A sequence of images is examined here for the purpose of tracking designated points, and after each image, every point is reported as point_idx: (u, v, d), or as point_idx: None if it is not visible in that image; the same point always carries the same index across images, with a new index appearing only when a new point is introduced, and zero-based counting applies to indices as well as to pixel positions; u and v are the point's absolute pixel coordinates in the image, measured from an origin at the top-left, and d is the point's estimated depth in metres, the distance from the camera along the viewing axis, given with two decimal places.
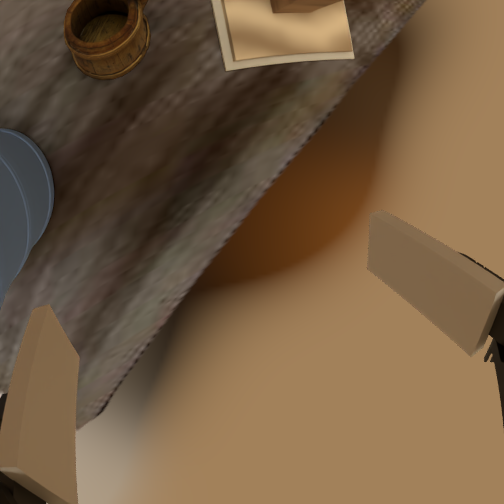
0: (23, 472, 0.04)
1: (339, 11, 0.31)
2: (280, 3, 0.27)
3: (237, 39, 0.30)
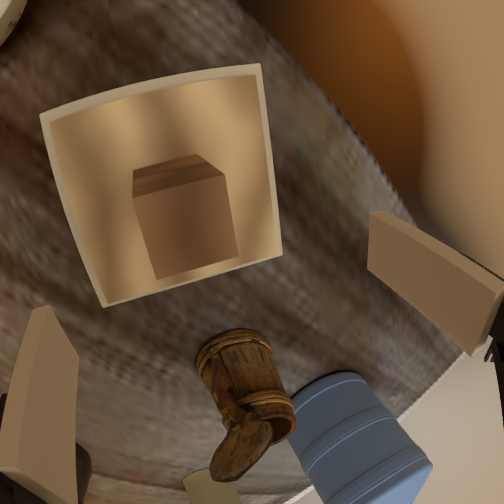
0: (23, 472, 0.04)
1: (182, 97, 0.21)
2: None
3: (250, 255, 0.29)
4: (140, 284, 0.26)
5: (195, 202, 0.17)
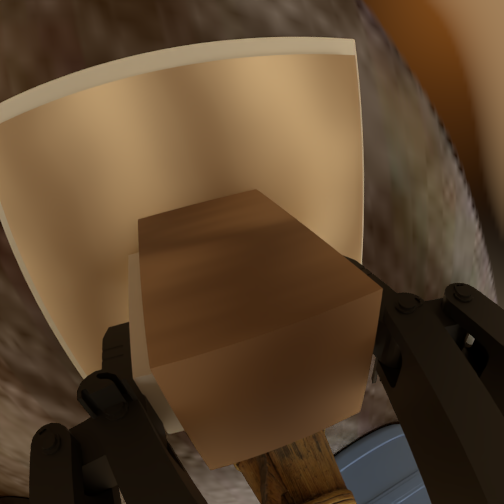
0: None
1: (233, 82, 0.11)
2: None
3: None
4: None
5: (310, 355, 0.07)
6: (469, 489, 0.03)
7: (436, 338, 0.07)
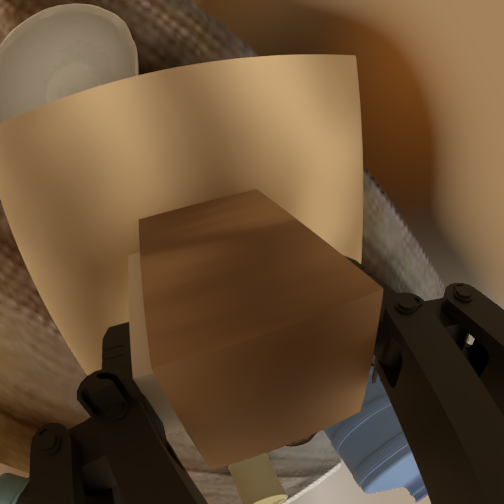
0: None
1: (234, 82, 0.11)
2: None
3: None
4: None
5: (311, 355, 0.07)
6: (469, 489, 0.03)
7: (436, 338, 0.07)
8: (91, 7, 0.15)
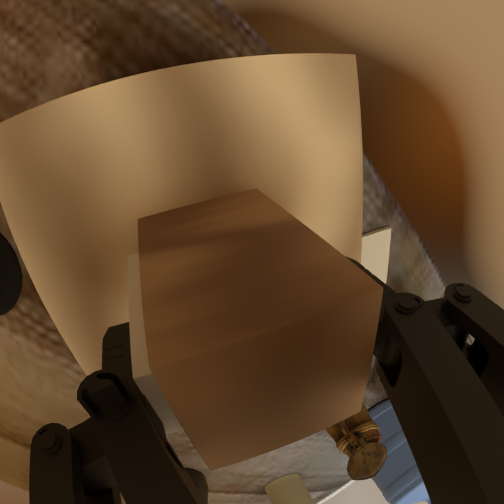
0: None
1: (233, 81, 0.11)
2: None
3: None
4: None
5: (310, 355, 0.07)
6: (469, 489, 0.03)
7: (436, 338, 0.07)
8: None
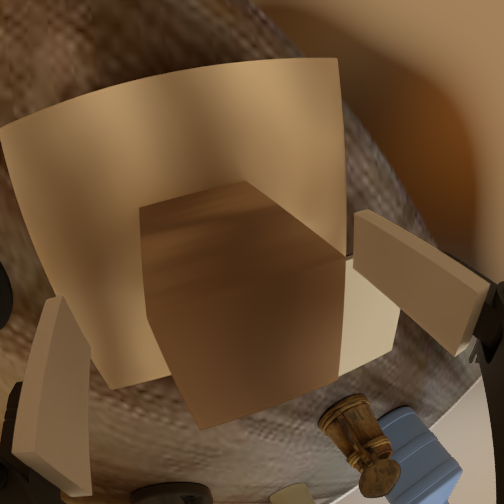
0: (40, 457, 0.05)
1: (224, 84, 0.12)
2: None
3: None
4: (156, 367, 0.18)
5: (283, 314, 0.08)
6: None
7: None
8: None
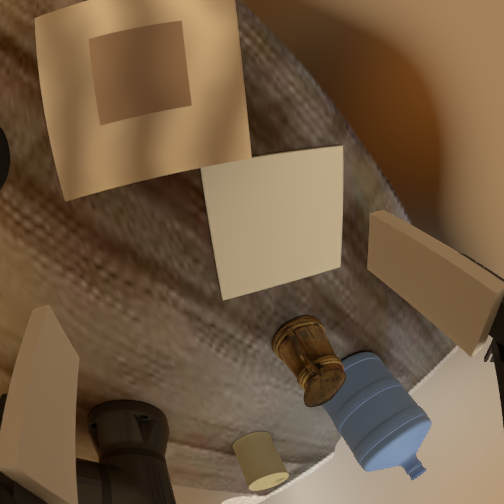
0: (23, 472, 0.04)
1: None
2: None
3: (221, 155, 0.25)
4: (100, 180, 0.23)
5: (149, 44, 0.13)
6: None
7: None
8: None
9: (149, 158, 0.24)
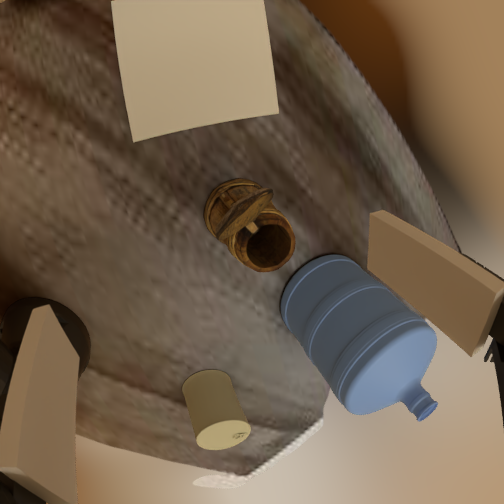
0: (23, 472, 0.04)
1: None
2: None
3: None
4: None
5: None
6: None
7: None
8: None
9: None
